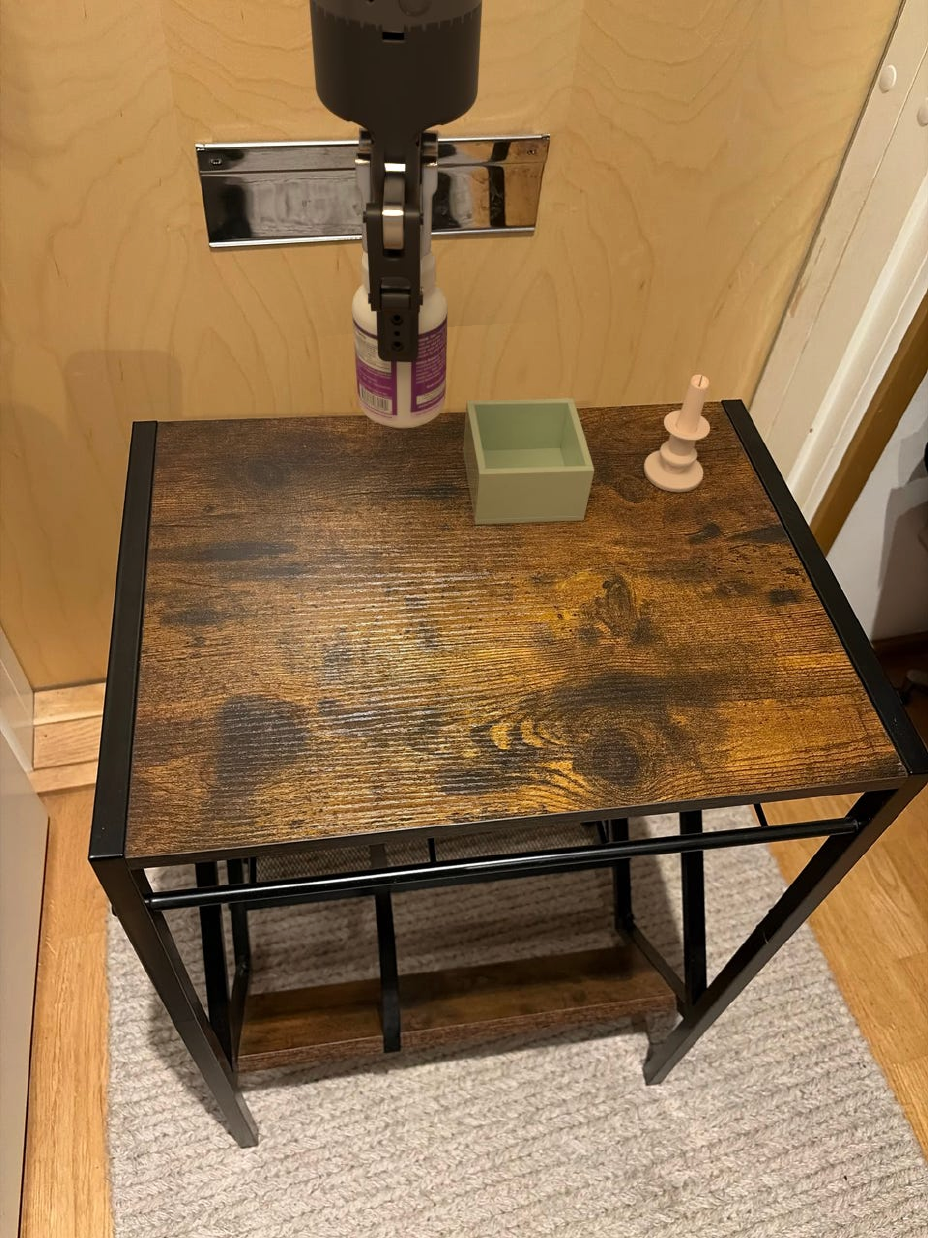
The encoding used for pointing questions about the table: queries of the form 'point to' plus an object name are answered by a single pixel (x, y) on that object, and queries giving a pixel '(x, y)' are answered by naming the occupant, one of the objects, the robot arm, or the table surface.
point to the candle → (681, 443)
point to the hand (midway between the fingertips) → (400, 325)
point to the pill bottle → (402, 386)
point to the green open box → (526, 461)
